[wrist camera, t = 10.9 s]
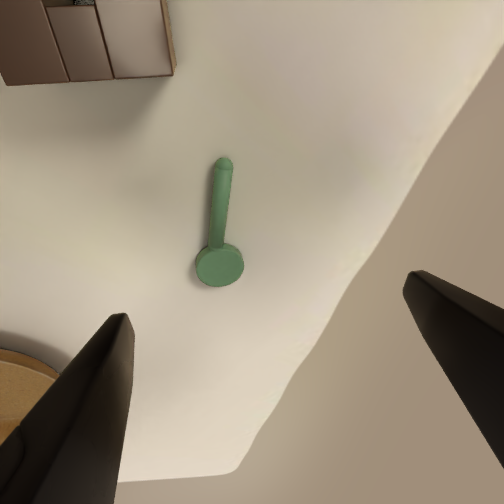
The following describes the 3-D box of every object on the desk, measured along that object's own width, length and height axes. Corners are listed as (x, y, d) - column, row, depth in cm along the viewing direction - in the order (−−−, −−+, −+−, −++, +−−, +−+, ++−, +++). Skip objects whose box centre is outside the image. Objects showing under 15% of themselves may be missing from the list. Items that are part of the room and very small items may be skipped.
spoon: (204, 159, 18) (194, 288, 24) (263, 164, 19) (240, 287, 25) (202, 152, 19) (194, 279, 25) (259, 158, 20) (238, 278, 25)
